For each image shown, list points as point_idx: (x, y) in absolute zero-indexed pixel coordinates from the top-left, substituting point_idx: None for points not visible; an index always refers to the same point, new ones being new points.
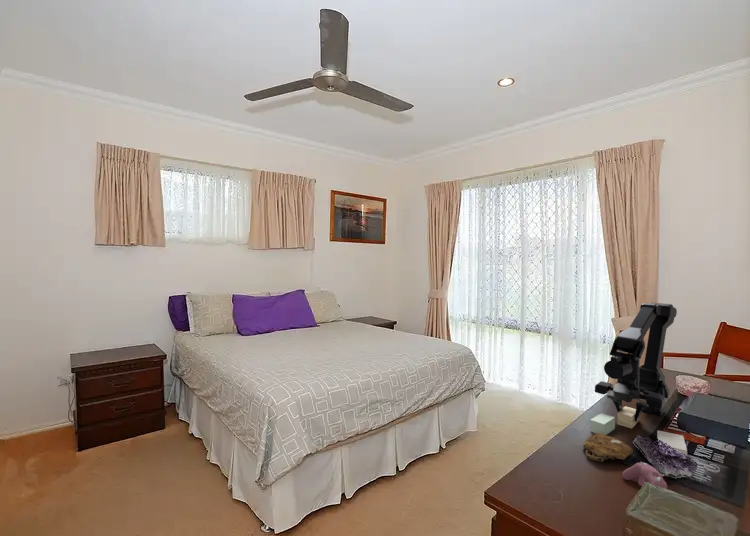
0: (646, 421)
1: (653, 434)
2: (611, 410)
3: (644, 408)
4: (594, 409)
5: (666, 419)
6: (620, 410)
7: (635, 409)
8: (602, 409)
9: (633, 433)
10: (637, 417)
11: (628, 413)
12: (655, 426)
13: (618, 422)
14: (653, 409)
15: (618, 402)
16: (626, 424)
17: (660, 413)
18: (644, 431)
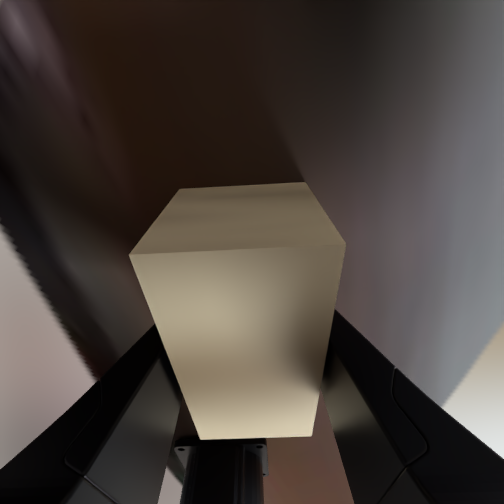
0: None
1: (16, 211)
2: None
3: (238, 457)
4: (494, 324)
5: None
6: (326, 345)
7: (222, 433)
8: (435, 354)
9: (98, 55)
10: (150, 330)
11: (223, 330)
12: (116, 343)
13: (300, 191)
14: (196, 468)
15: (414, 489)
16: (222, 194)
17: (180, 452)
18: (89, 214)
